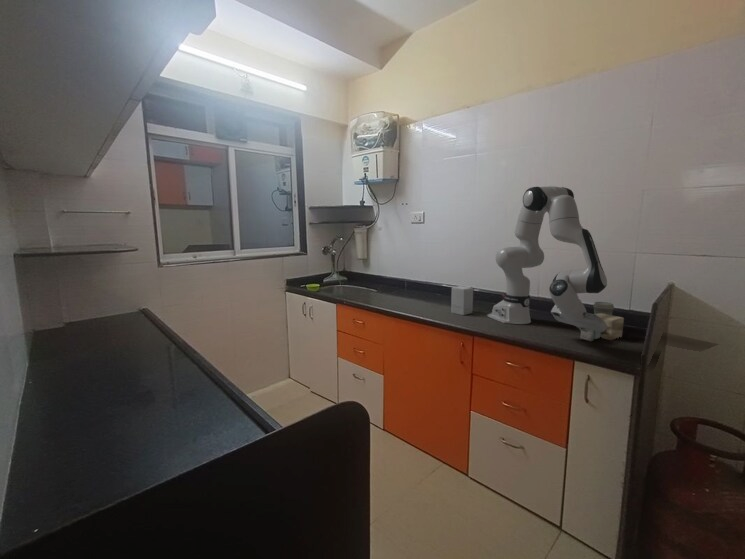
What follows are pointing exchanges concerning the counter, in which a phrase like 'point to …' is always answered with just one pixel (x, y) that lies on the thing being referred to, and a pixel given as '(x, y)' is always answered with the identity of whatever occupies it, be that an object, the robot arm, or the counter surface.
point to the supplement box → (462, 300)
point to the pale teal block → (596, 334)
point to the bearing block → (612, 326)
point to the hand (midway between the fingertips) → (585, 330)
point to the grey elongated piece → (588, 335)
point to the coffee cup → (603, 308)
